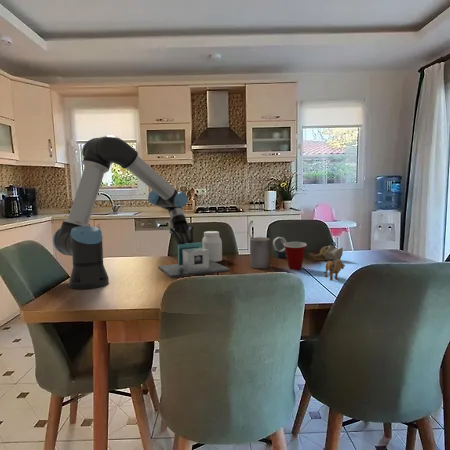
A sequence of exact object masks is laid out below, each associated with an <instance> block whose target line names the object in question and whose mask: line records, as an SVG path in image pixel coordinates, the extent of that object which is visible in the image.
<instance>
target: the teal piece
mask: <svg viewBox="0 0 450 450" xmlns="http://www.w3.org/2000/svg"><path fill="white" fill-rule="evenodd" d="M193 248H202V241H201V242H193V243H187V244H177V264H178V265H183V254H182V249H193ZM194 261H195V262H197V263H200V262H201V261H202V258H201V257H199V256H194Z"/></svg>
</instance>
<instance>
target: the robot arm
mask: <svg viewBox="0 0 450 450" xmlns="http://www.w3.org/2000/svg"><path fill="white" fill-rule="evenodd" d="M81 153H82V157H83V159H82V165H83V166H84V168H83V170H82V171H83V172H82V175H81V177H80V181H79V183H78V187H77V188H76V193H75V195H74V199H73V202H72V204H71V208H70V211H69V214H68V217H67V218H66V219H63V221H62V222H61V225H60V228H58V229H57V230H56V231H55V232H54V234H53V237H52V244H53V247H54V248H55V250H56V251H57V252H59V253H61V254H62V255H65V256H70V257H72V270H71V273H70V276H69V281H68V285H69V286H68V287H69V288H71V289H74V290H91V289H96V288H101V287H104V286H106V285H108V284H109V283H110V281H109V280H110V279H109V275H108V272H107V270H106V268H105V264H104V251H103V249H104V248H103V239H104V238H103V233H102V230H101V229H100V228H99V227H96V226H90V225H89V222H90V219H91V217H92V213H93V210H94V207H95V204H96V200H97V196H98V194H99V191H100V188H101V185H102V182H103V178H104V175H105V174H106V173H108V172H109V171H110V169H111V165H112V164H115V165H118V166H120V168H122V169H125V170H126V169H127V170H128V171H129V172H130V173H132V174H133V175H134V176H135V177H137V179H139V180H141V182H143V183H144V184H145V185H146V186H147V187H149V188H150V189H151V191H150V192H149V193H148V196H147V200H148V202H149V204H152V205H153V206H157V207H159V208H162V209H163V210H166V211H167V213H168V215H169V217H170V220H171V221H170V222H171V225H172V228H170V229H169V231H168V232H169V234H170V235H172V237H173V238H174V241H175V242H176V244H177V245H178V244H187V243H194V226H190V225H189V224H188V222H187V218H186V215H185V212H184V210H183V207H185V206H186V205H187V203H188V199H189V198H188V195H187V194H186V192H184V191H179V190H178V189H176V188H175V187H174V186H172V185H171V183H169V182H168V181H167V180H166V179H165V178H164V177H163V176H161V175H160V174H159V173H158V172H157V170H155V169H154V168H153V167H151V166H150V165H149V164H148V163H146V161H145V160H143V159H142V157H140V156H139V153H138V151H137V150H136V149H135V148H134V147H133V146H131V145H130V144H129V143H127V142H126V141H125V140H123V139H122V138H120V137H117V136H114V135H104V136H100V137H93V138H91V139H89V140H87V141H86V142H85V143H84V144H83V146H82V149H81ZM188 233H189V234H188Z"/></svg>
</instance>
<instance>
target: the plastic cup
mask: <svg viewBox="0 0 450 450" xmlns="http://www.w3.org/2000/svg"><path fill="white" fill-rule="evenodd" d="M282 245H283V248H284V247H285V250H284V251H285V252H286V260H287V264H288V269H289V270H292V269H293V270H294V271H295V270H302V268H303V262H304V261H303V260H304V255H305V252H306V251H305V250H306V248H307V246H308V245H307V242H304V241H303V242H302V241H290V242H289V241H288V242H287V243H284V244H282Z"/></svg>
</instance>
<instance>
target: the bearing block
mask: <svg viewBox="0 0 450 450" xmlns="http://www.w3.org/2000/svg"><path fill="white" fill-rule="evenodd" d="M182 254H183V265H178V263H173V264H172V263H171V264H165V265H163V264H162V265H158V267H157V268H158V269H159V270H160V271H161V272H163V273H164V274H166V275H167V276H168V277H170V278H171V279H172V278H179V277H189V276H195V275H204V274H205V275H206V274H213V273H220V272H230V268H229V267H227V266H224V265H222V264H220V263H218V262H214V261H211V260H210V261H209V250H207V249H204V248H193V249H182ZM194 256H199V257H201V258H202V261H201V262H200V263H197V262H195V261H194Z"/></svg>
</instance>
